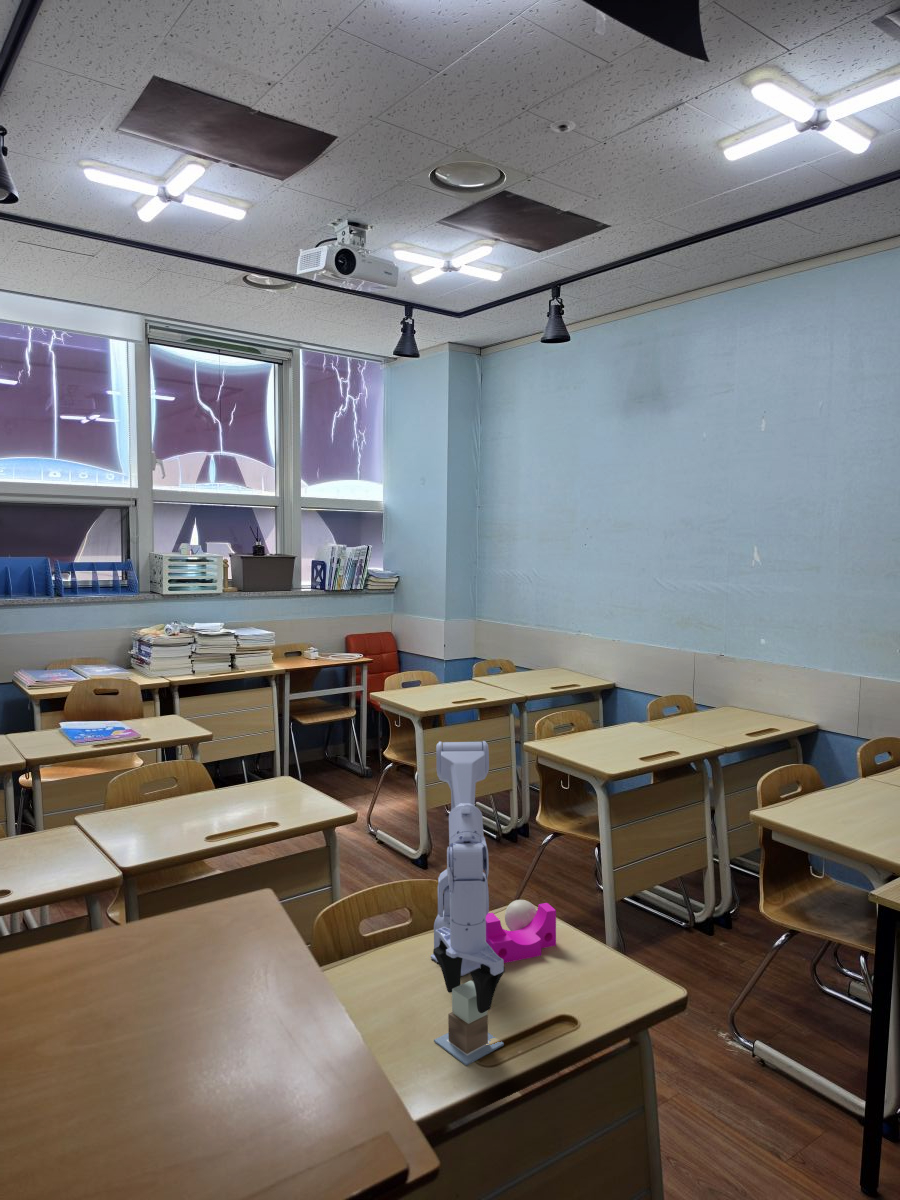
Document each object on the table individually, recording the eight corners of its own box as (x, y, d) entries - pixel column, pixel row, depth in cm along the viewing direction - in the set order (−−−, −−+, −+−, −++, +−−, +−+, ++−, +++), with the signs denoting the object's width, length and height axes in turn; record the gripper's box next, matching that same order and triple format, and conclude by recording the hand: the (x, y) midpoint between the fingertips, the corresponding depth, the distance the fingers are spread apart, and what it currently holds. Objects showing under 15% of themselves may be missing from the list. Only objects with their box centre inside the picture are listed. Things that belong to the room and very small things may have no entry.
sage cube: (452, 1012, 128) (452, 988, 128) (470, 1003, 130) (470, 980, 130) (468, 1023, 125) (468, 999, 124) (487, 1014, 127) (487, 990, 127)
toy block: (493, 966, 152) (492, 928, 152) (480, 951, 158) (480, 914, 157) (562, 952, 157) (562, 915, 157) (547, 938, 163) (547, 902, 163)
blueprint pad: (434, 1041, 128) (434, 1039, 128) (471, 1022, 133) (471, 1021, 133) (466, 1065, 122) (466, 1063, 122) (503, 1045, 127) (503, 1043, 127)
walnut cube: (448, 1040, 128) (448, 1013, 128) (469, 1030, 131) (469, 1003, 130) (466, 1054, 124) (466, 1026, 124) (487, 1042, 127) (487, 1015, 127)
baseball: (523, 944, 160) (523, 912, 160) (498, 932, 166) (498, 900, 165) (546, 934, 164) (546, 902, 164) (521, 922, 170) (521, 891, 170)
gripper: (420, 909, 130) (421, 989, 130) (479, 942, 118) (480, 1029, 119) (453, 897, 134) (454, 975, 135) (513, 927, 123) (513, 1012, 124)
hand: (468, 999), depth 127 cm, fingers open, 7 cm apart
